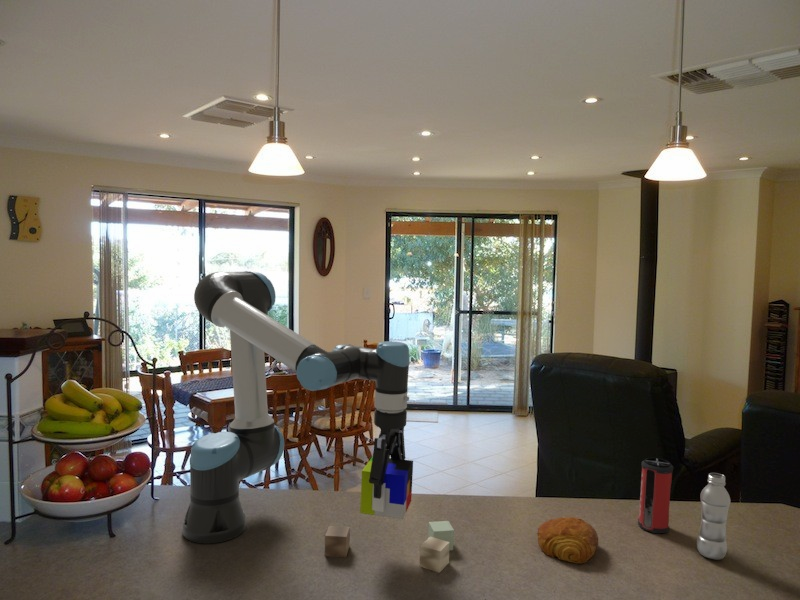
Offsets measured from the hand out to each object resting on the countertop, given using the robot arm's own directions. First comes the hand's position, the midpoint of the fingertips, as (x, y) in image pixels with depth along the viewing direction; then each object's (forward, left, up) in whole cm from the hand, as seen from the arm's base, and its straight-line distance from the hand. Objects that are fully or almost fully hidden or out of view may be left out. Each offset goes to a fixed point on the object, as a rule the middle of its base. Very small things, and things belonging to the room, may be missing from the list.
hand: (386, 500), depth 137 cm
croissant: (+40, +19, -13) cm, 46 cm away
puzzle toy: (0, 0, -2) cm, 2 cm away
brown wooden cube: (-11, -4, -13) cm, 17 cm away
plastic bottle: (+73, +28, -13) cm, 79 cm away
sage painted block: (+11, +8, -13) cm, 19 cm away
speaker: (+61, +39, -13) cm, 74 cm away
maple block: (+12, -1, -13) cm, 18 cm away
